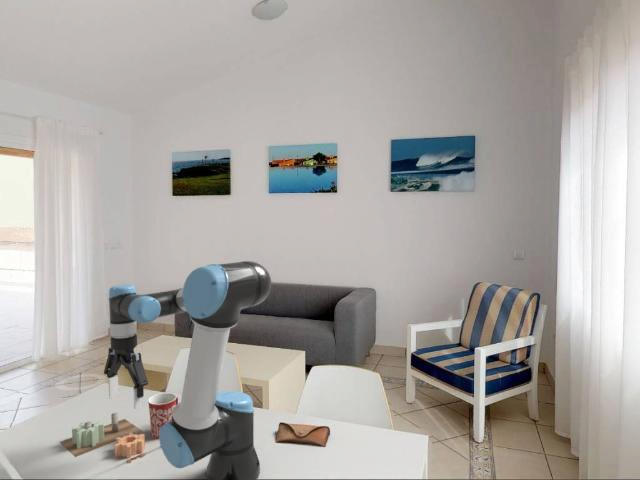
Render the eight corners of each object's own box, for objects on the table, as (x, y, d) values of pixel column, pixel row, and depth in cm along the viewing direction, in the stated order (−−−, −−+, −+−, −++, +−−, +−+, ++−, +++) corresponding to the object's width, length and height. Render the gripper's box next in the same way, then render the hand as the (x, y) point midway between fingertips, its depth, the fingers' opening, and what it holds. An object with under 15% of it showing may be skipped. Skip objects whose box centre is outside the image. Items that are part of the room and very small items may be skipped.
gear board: (142, 435, 148) (141, 413, 147) (75, 461, 132) (74, 437, 131) (124, 422, 156) (124, 402, 156) (60, 446, 140) (59, 423, 140)
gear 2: (151, 449, 138) (150, 434, 138) (135, 464, 130) (134, 448, 130) (125, 446, 140) (125, 431, 140) (108, 461, 132) (107, 445, 132)
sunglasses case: (272, 442, 142) (275, 421, 145) (277, 443, 149) (279, 422, 152) (327, 447, 140) (328, 424, 143) (329, 448, 146) (330, 426, 149)
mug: (166, 446, 140) (166, 405, 140) (143, 442, 143) (142, 402, 142) (188, 427, 153) (188, 390, 152) (166, 424, 155) (165, 387, 154)
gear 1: (107, 441, 141) (107, 425, 140) (80, 451, 135) (79, 435, 134) (96, 431, 147) (95, 417, 146) (69, 441, 140) (68, 426, 140)
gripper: (159, 338, 131) (161, 407, 132) (113, 327, 145) (115, 389, 146) (136, 344, 125) (138, 416, 126) (90, 332, 139) (92, 397, 140)
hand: (126, 402), depth 136 cm, fingers open, 13 cm apart
